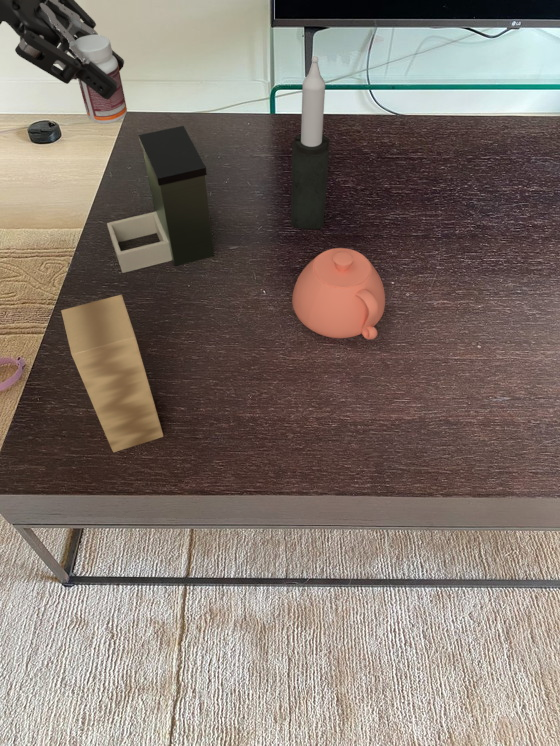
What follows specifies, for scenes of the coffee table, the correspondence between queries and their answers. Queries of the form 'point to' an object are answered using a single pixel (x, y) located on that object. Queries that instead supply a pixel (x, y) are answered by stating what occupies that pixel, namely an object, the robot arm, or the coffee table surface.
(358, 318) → the sugar bowl
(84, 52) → the pill bottle
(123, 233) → the dock
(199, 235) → the dispenser
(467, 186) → the coffee table surface
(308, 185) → the candle
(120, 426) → the stand
